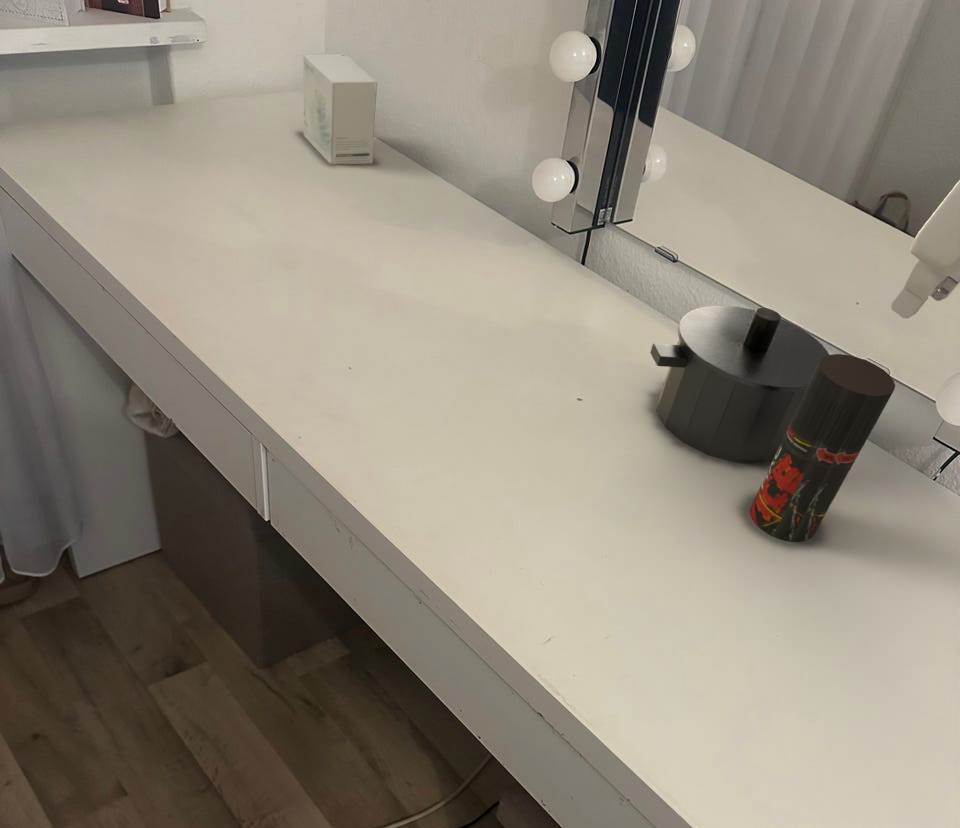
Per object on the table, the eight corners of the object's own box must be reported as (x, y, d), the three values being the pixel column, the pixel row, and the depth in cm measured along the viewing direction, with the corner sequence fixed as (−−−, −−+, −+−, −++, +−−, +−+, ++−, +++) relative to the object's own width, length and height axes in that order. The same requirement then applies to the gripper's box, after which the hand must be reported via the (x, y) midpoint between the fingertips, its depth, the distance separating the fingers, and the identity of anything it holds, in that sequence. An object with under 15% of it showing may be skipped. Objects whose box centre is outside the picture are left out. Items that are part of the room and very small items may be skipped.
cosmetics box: (300, 138, 125) (301, 51, 118) (344, 138, 128) (348, 53, 120) (328, 169, 119) (332, 79, 112) (373, 168, 122) (379, 80, 115)
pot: (615, 384, 93) (638, 305, 87) (782, 393, 97) (815, 319, 91) (652, 464, 84) (681, 383, 78) (835, 471, 88) (876, 394, 82)
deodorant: (819, 551, 79) (905, 400, 68) (754, 542, 78) (830, 389, 67) (804, 508, 83) (882, 360, 72) (741, 499, 82) (811, 349, 71)
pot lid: (656, 310, 88) (669, 269, 85) (791, 321, 91) (808, 282, 88) (704, 394, 78) (721, 351, 75) (854, 402, 81) (875, 361, 78)
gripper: (1068, 160, 56) (912, 350, 65) (1112, 151, 70) (979, 308, 79) (983, 106, 57) (843, 299, 67) (1043, 107, 71) (920, 267, 81)
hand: (917, 304), depth 73 cm, fingers open, 8 cm apart
